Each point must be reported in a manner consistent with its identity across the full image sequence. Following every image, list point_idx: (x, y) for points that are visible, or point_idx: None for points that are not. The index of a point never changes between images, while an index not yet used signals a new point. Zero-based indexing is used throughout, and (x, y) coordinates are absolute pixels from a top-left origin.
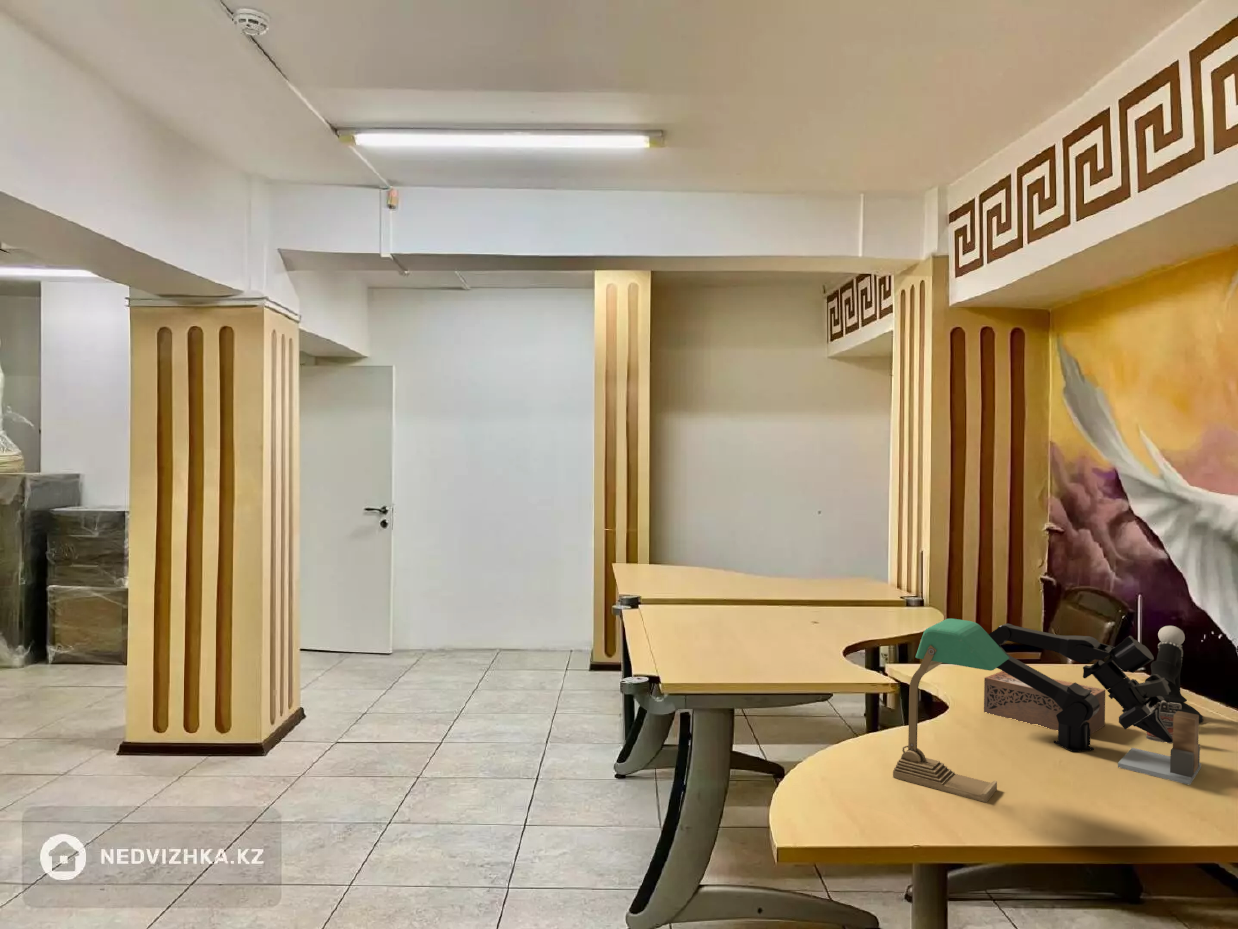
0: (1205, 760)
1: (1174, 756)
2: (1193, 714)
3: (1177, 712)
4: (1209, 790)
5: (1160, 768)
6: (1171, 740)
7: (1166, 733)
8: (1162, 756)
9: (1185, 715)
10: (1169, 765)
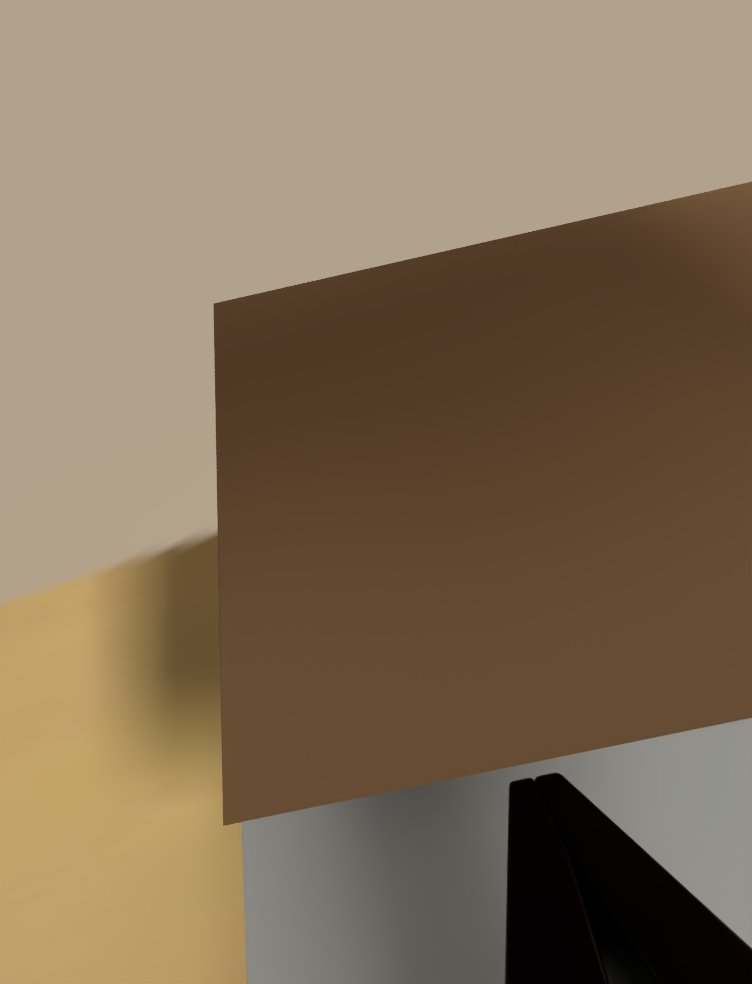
0: (56, 702)
1: None
2: (283, 360)
3: (514, 720)
4: None
5: (662, 813)
6: (568, 783)
7: (660, 868)
8: (307, 948)
9: (618, 411)
10: (501, 792)
